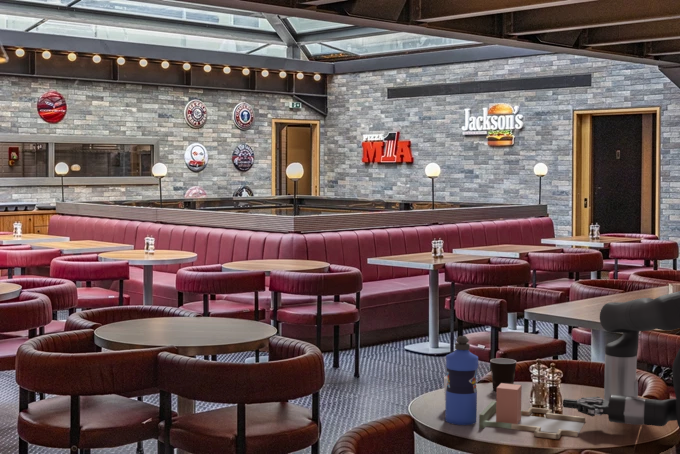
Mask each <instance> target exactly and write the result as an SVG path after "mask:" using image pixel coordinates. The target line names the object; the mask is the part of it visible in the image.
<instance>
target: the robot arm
mask: <svg viewBox="0 0 680 454" xmlns="http://www.w3.org/2000/svg"><path fill="white" fill-rule="evenodd" d="M599 322H600V325H601V327H602V328H603V330H605V332H608V333H615V334H617V333H622V335H621V336H620V337H619V338H617V339H615V340H614V341H611V342H608V343H607V344H605V347H604V348H605V349H604V354H605V355H604V383H603V384H604V385H603V387H604V388H603V389H604V391H603V393H604V394H603V398H602V397H601V396H590V397H589V396H588V397H587V396H586V397H580V398H577V399H571V398H563V400H562V407H563V408H565V409H566V408H567V409H576V411H577V412H578V413H581V414H585V415H586V416H590V417H595V416H602V415H608V416H607V417H608V418H607V419H608V421H609V422H610V423H617V424H627V425H636V426H637V425H639V426H640V425H643V426H644V425H645V426H652V427H653V426H654V427H665V426H666V425H667V423H668V422H671V421H674V422H675V421H676V423H677V425H678V427H679V429H680V348H679V349H678V351H677V353H676V355H675V358H674V359H673V360H674V361H673V363H672V370H671V373H672V381H673V382H672V383H673V389H674V393H675V398H669V399H663V400H662V399H660V400H659V399H651V398H644V397H639V396H638V395H639V382H638V381H639V380H637V360H638V358H637V357H638V355H637V354H638V348H639V347H638V346H639V332H650V331H654V330H660V331H664V332H665V331H666V332H668V331H670V332H671V331H675V330H680V290H679V291H676V292H672V293H667V294H663V295H661V296H658V297H655V298H652V297H651V298H650V297H641V298H640V297H639V298H636V299H632V300H628V301H624V302H623V301H622V302H621V301H617V302H616V301H614V302H613V301H612V302H608V303H607V302H606V303H604V305H603V306H602V308H601V309H600V312H599Z"/></svg>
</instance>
